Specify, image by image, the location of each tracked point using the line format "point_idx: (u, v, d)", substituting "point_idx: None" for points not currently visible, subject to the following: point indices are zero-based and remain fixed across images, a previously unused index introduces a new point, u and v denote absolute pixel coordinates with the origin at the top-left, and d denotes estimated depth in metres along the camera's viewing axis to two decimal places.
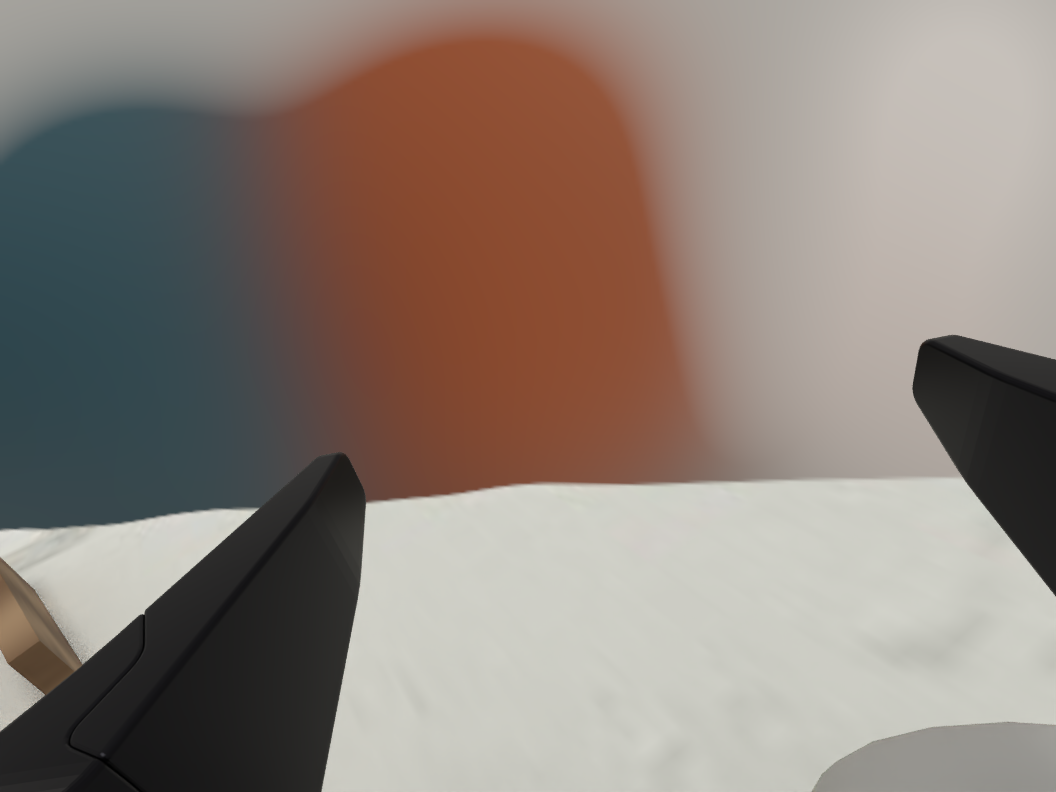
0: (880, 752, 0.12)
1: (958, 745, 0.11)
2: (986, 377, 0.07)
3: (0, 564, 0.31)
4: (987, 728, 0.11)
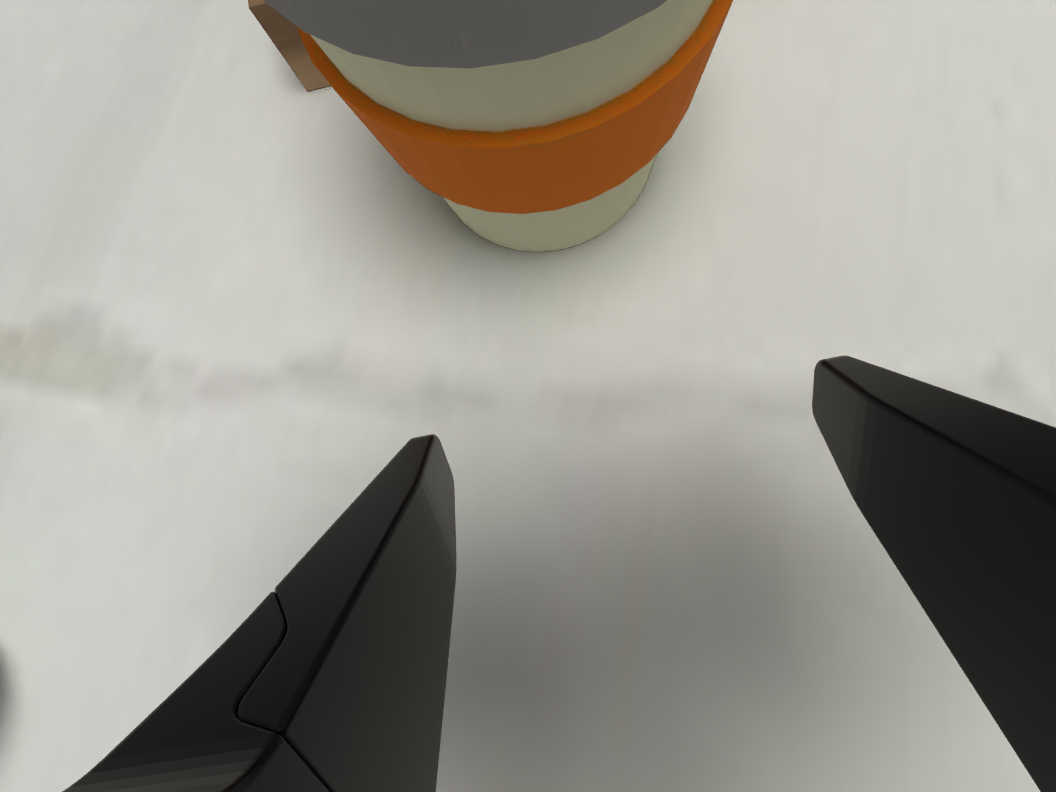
0: None
1: None
2: (862, 400, 0.08)
3: None
4: None
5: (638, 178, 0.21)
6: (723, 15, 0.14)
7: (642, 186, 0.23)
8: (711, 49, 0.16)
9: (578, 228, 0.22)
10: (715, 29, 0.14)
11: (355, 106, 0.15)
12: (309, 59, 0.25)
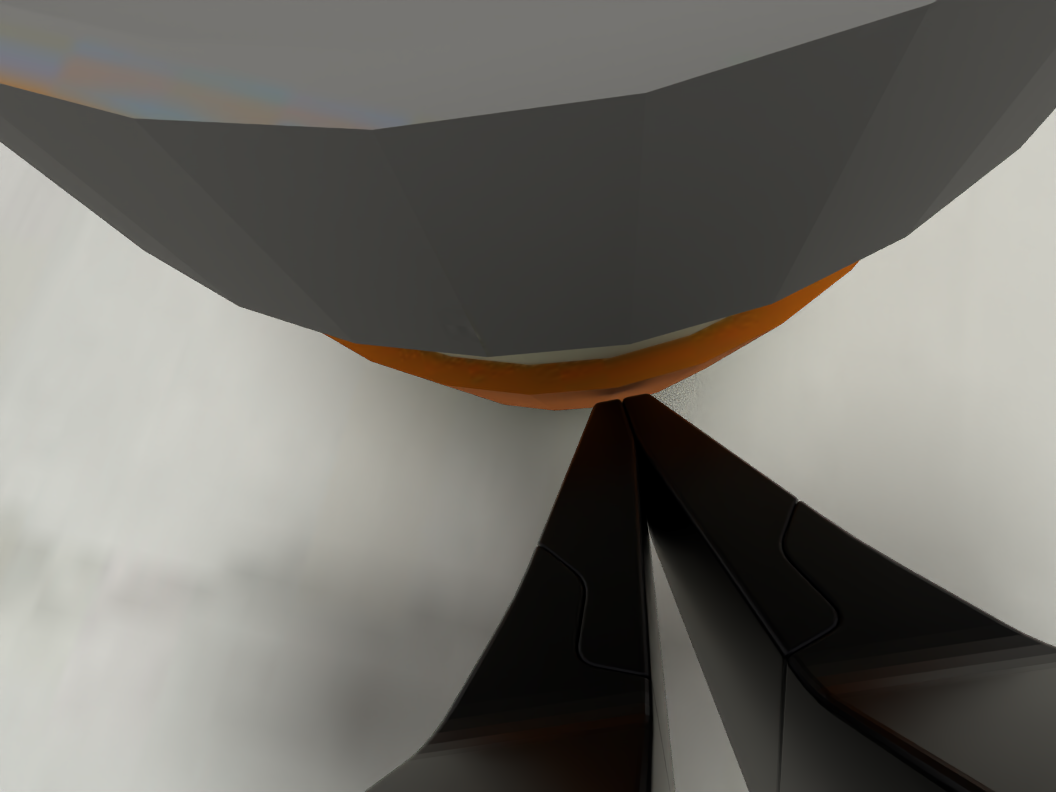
0: None
1: None
2: (637, 442, 0.08)
3: None
4: None
5: None
6: None
7: None
8: None
9: None
10: None
11: None
12: None
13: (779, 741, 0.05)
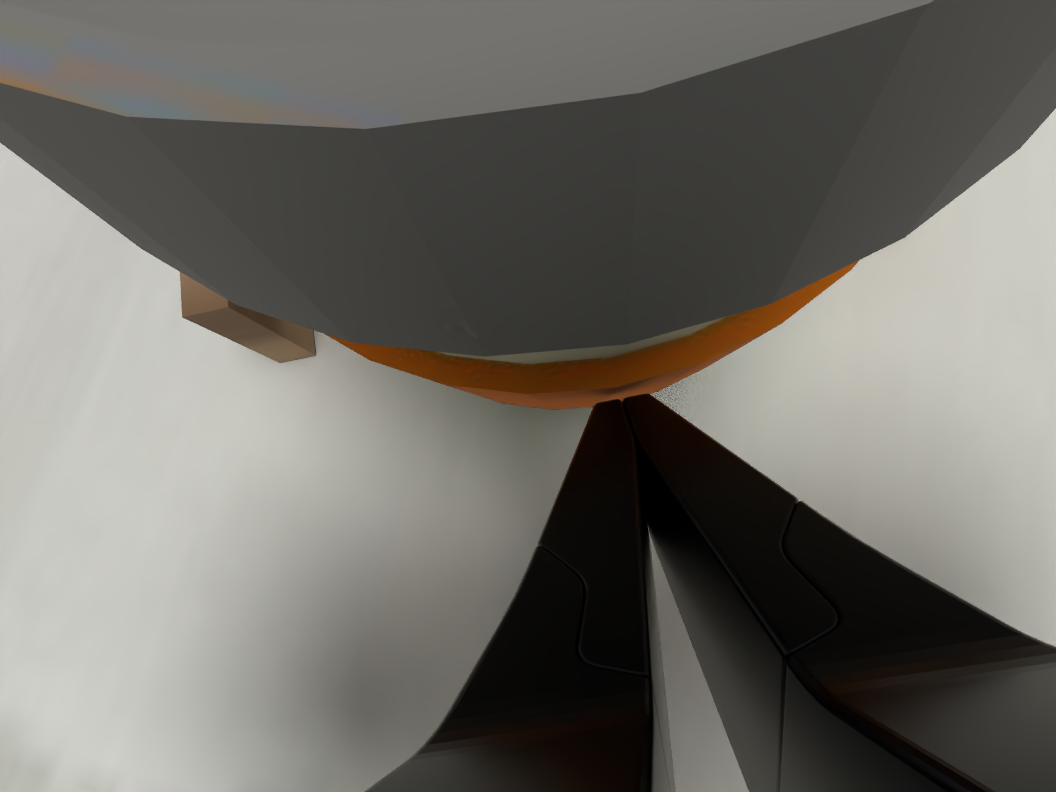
0: None
1: None
2: (636, 441, 0.08)
3: None
4: None
5: None
6: None
7: None
8: None
9: None
10: None
11: None
12: (280, 342, 0.17)
13: (779, 741, 0.05)
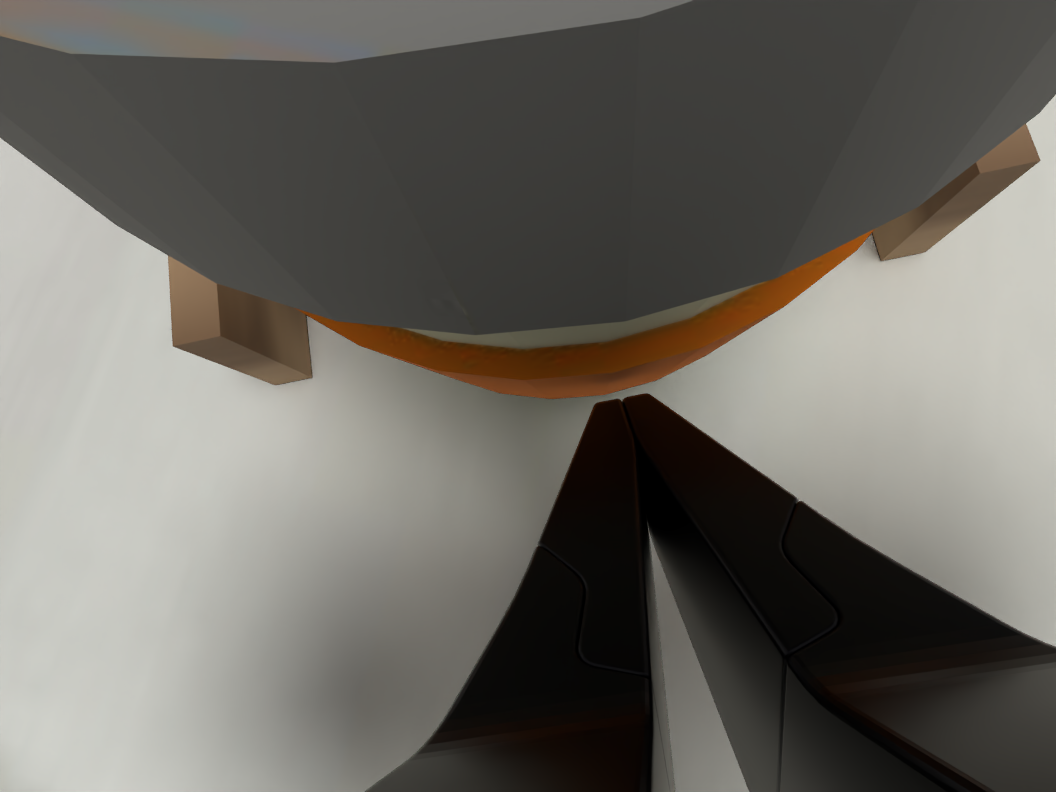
0: None
1: None
2: (636, 442, 0.08)
3: None
4: None
5: None
6: None
7: None
8: None
9: None
10: None
11: None
12: (275, 367, 0.17)
13: (778, 741, 0.05)
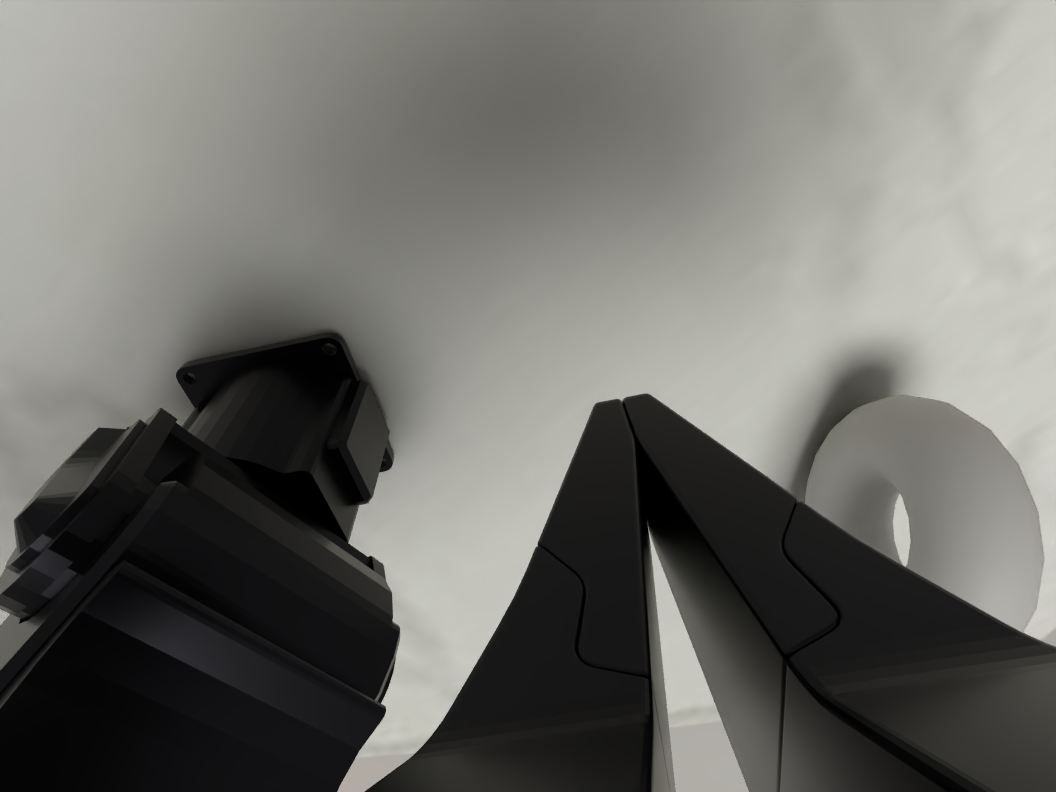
0: (1037, 525, 0.17)
1: (1036, 579, 0.17)
2: (636, 442, 0.08)
3: None
4: (1038, 592, 0.18)
5: None
6: None
7: None
8: None
9: None
10: None
11: None
12: None
13: (779, 741, 0.05)
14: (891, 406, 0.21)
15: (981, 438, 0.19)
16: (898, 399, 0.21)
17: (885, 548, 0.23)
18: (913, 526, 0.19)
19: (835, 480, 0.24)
